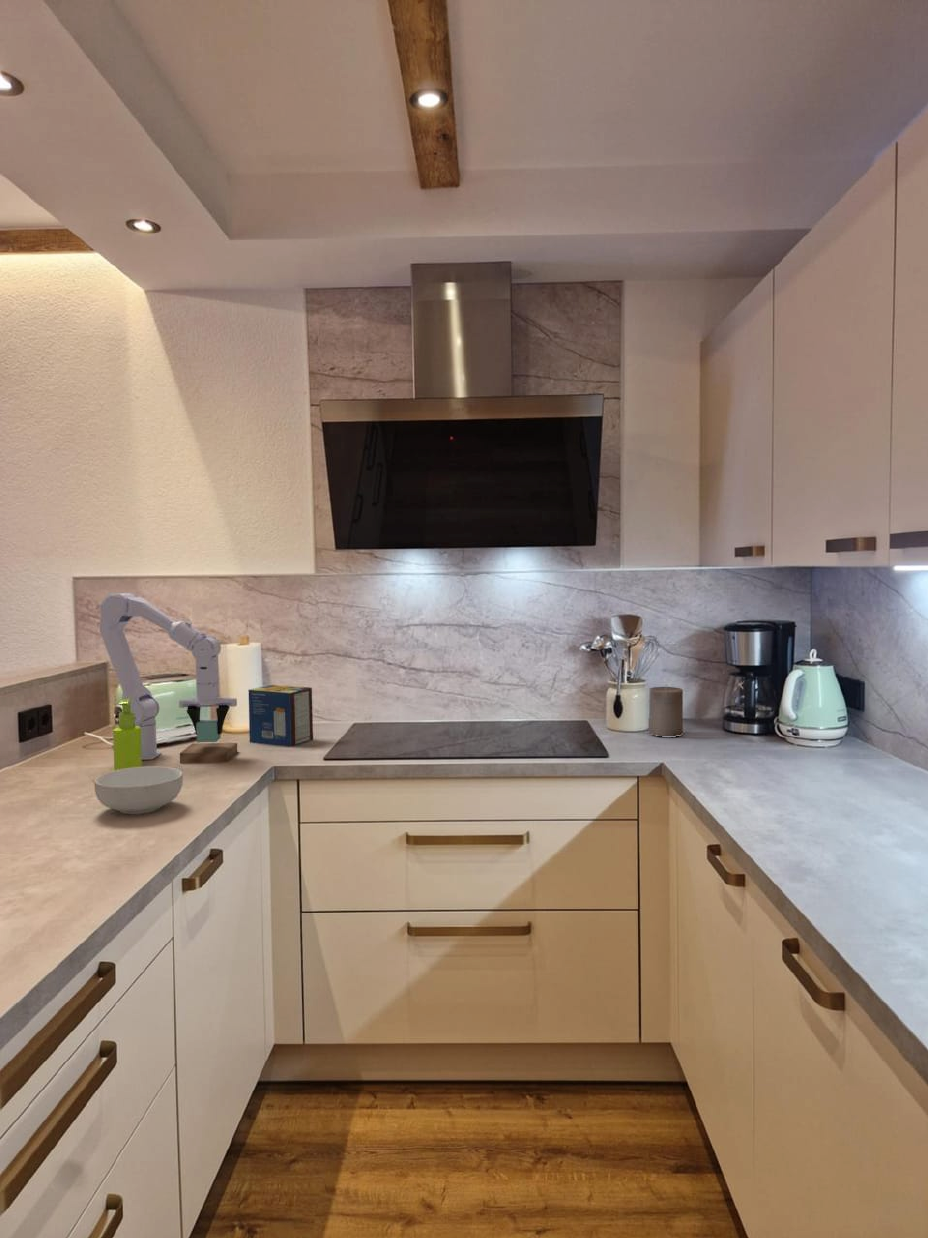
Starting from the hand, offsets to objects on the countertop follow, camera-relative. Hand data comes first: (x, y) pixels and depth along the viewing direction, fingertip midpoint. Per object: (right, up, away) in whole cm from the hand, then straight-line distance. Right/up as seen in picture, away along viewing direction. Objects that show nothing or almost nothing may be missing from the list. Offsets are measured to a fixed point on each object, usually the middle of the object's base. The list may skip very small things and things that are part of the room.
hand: (209, 733), depth 213 cm
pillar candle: (+127, -4, +25) cm, 130 cm away
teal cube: (0, -2, 0) cm, 2 cm away
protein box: (+14, -5, +21) cm, 26 cm away
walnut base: (0, -7, 0) cm, 7 cm away
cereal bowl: (+1, -9, -47) cm, 48 cm away
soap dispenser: (-10, -8, -27) cm, 30 cm away
